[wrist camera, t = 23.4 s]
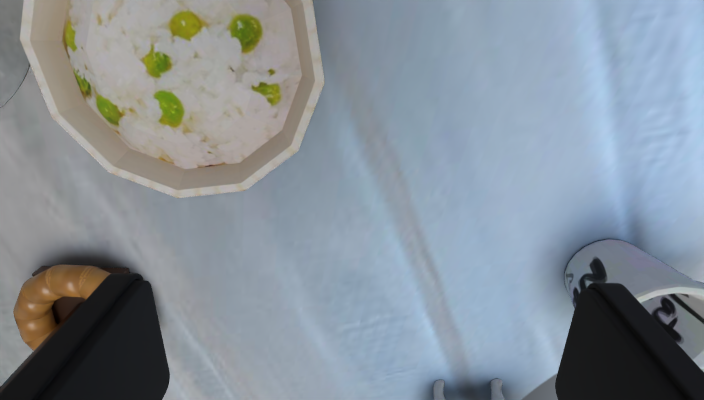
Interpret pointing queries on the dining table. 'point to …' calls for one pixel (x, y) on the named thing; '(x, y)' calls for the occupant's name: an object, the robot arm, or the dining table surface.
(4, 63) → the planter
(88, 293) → the ring
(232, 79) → the bowl
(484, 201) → the dining table surface
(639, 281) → the mug
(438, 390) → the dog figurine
